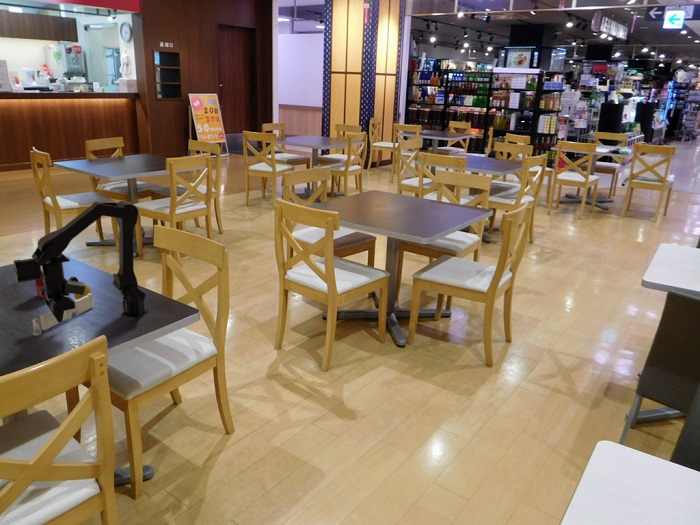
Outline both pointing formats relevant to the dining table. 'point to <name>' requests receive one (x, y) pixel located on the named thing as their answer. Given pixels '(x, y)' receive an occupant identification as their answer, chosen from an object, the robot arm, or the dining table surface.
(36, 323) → the post
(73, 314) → the hinge post
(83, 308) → the fence panel
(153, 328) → the dining table surface
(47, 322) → the gate
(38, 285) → the canned food
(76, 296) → the lemon
